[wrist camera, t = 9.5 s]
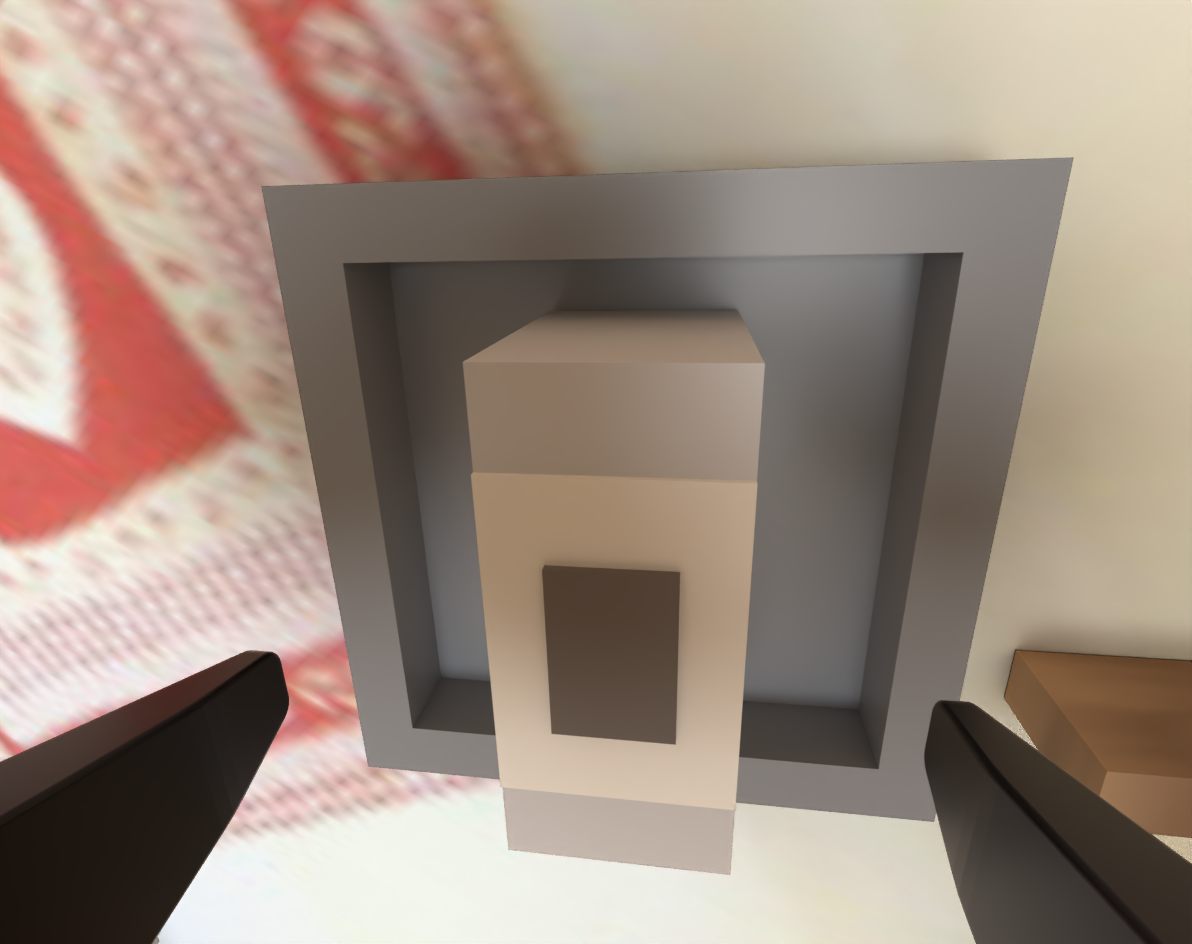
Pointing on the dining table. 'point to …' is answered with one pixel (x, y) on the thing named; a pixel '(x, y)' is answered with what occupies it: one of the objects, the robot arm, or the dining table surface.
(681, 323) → the block
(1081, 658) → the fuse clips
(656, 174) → the parts tray
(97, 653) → the dining table surface
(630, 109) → the dining table surface
